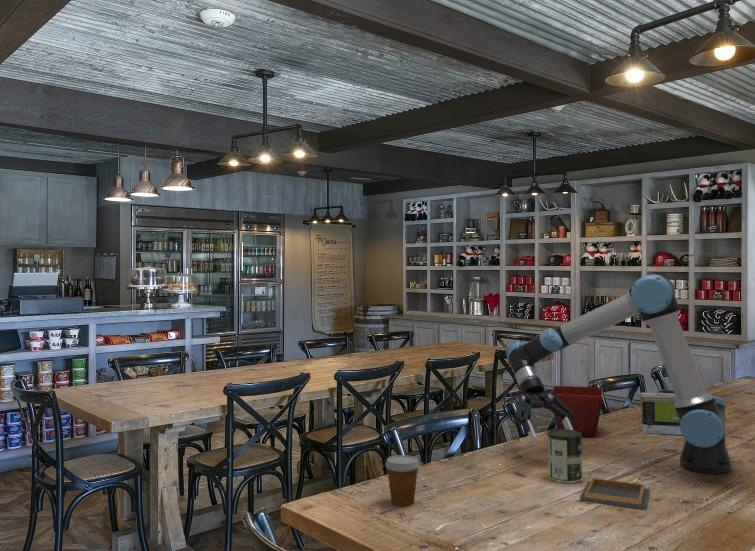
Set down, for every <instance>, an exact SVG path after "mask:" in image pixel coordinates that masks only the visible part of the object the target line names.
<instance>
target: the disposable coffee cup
mask: <svg viewBox="0 0 755 551" xmlns="http://www.w3.org/2000/svg"><path fill="white" fill-rule="evenodd" d="M385 467H386V470H387V477H388V483H389V484H388V486H389V493H390V500H391V504H393V505H395V506H399V507H408V506H411V505H414V503H415V496H416V486H417V478H418V469H419V467H420V462H419V459H418V458H417V457H416V456H414V455H413V456H412V455H405V454H399V455H398V454H397V455H393V456H392V455H391V456H389V457H387V459H386V462H385Z"/></svg>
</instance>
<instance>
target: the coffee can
mask: <svg viewBox="0 0 755 551" xmlns="http://www.w3.org/2000/svg"><path fill="white" fill-rule="evenodd" d="M546 433H547V459H548V460H547V463H548V464H547V467H548V468H547V469H548V470H547V472H548V475H547V477H549V478H550V479H551V481H552V480H553V482H555V481H556V483H560V482H562V483H561V484H576V483H575V482H577V483H580V482H582V481H583V467H582V465H583V464H582V463H583V460H582V457H583V455H582V454H583V452H582V448H583V447H582V437H583V436H582V433H580V432H578V431H575V430H568V429H558V428H557V429H550V430H548V431H547V432H546ZM549 478H548V479H549ZM550 479H549V480H550ZM581 480H582V481H581ZM579 481H580V482H579Z"/></svg>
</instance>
